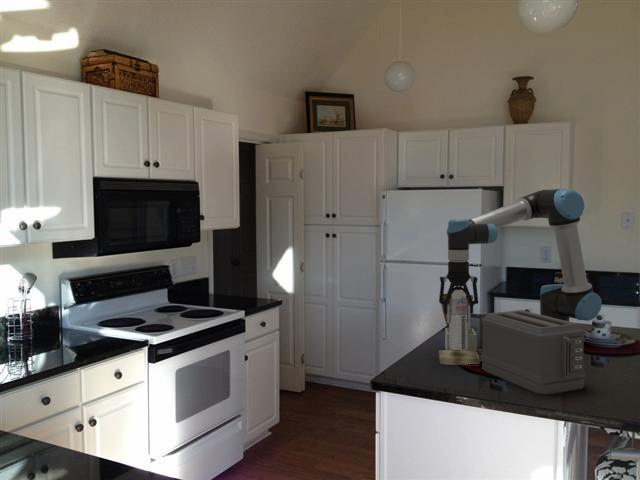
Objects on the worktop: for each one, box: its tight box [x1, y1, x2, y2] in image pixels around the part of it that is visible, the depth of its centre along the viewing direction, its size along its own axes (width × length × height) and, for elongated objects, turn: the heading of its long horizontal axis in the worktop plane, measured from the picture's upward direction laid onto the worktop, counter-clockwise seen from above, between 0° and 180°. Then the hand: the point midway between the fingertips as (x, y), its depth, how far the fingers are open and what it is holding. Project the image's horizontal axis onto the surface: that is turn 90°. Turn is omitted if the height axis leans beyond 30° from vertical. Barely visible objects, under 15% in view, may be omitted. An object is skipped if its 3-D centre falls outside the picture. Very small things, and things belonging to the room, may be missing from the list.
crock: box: [444, 327, 478, 352], centre depth 233 cm, size 11×11×8 cm
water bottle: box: [449, 286, 468, 351], centre depth 218 cm, size 7×7×25 cm
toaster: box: [480, 309, 586, 395], centre depth 196 cm, size 19×34×20 cm, turn 21°
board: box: [438, 349, 481, 366], centre depth 219 cm, size 14×11×2 cm
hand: (458, 322), depth 218 cm, fingers closed on water bottle, 7 cm apart
